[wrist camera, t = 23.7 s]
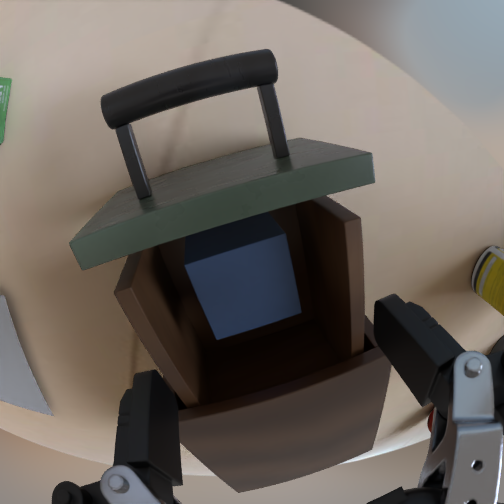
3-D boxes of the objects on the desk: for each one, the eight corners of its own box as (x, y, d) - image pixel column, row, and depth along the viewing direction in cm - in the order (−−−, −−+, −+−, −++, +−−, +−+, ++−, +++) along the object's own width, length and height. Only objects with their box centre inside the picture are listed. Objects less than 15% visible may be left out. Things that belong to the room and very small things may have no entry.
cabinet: (166, 316, 21) (162, 424, 12) (325, 267, 22) (394, 350, 13) (223, 415, 28) (238, 493, 19) (335, 379, 28) (372, 449, 20)
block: (185, 228, 16) (183, 265, 12) (262, 204, 17) (285, 232, 13) (209, 292, 19) (216, 340, 14) (278, 270, 19) (302, 313, 15)
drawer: (93, 117, 14) (24, 118, 7) (283, 62, 14) (347, 27, 7) (190, 354, 22) (196, 437, 15) (327, 311, 23) (373, 381, 16)
